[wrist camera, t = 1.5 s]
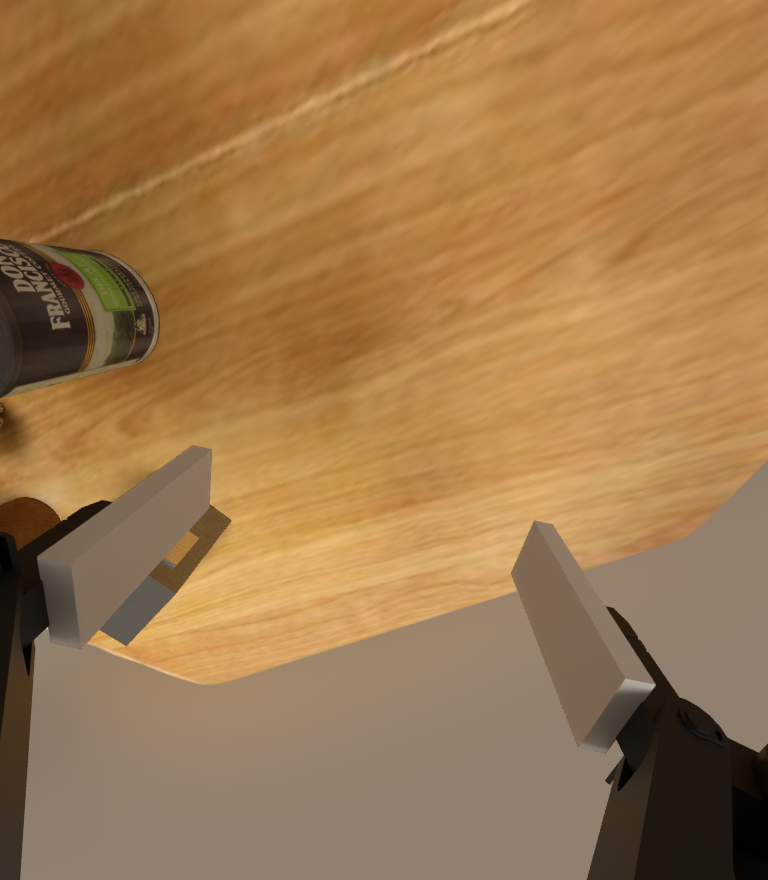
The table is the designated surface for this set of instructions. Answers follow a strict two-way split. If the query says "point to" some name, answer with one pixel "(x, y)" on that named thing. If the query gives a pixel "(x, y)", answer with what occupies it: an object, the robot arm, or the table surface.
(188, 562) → the block
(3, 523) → the disposable coffee cup
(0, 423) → the pneumatic valve
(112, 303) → the coffee can
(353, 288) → the table surface
